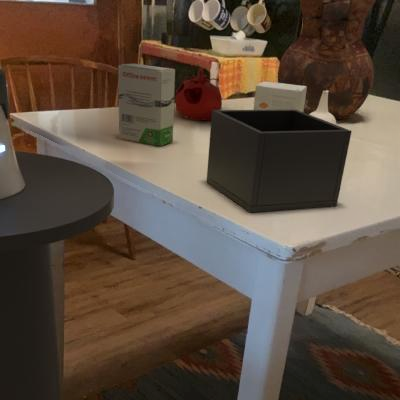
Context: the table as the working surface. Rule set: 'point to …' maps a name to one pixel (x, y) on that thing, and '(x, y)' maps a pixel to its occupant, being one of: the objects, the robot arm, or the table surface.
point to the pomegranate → (198, 98)
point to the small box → (279, 96)
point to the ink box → (146, 103)
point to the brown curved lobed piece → (330, 56)
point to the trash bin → (276, 159)
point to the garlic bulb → (324, 109)
